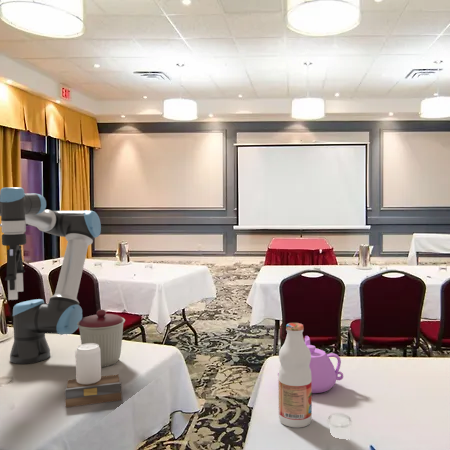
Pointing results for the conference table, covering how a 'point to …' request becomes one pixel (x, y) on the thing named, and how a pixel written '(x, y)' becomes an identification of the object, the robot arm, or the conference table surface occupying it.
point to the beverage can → (88, 364)
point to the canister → (103, 335)
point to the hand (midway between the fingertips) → (16, 295)
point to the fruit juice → (295, 379)
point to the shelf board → (93, 391)
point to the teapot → (322, 369)
